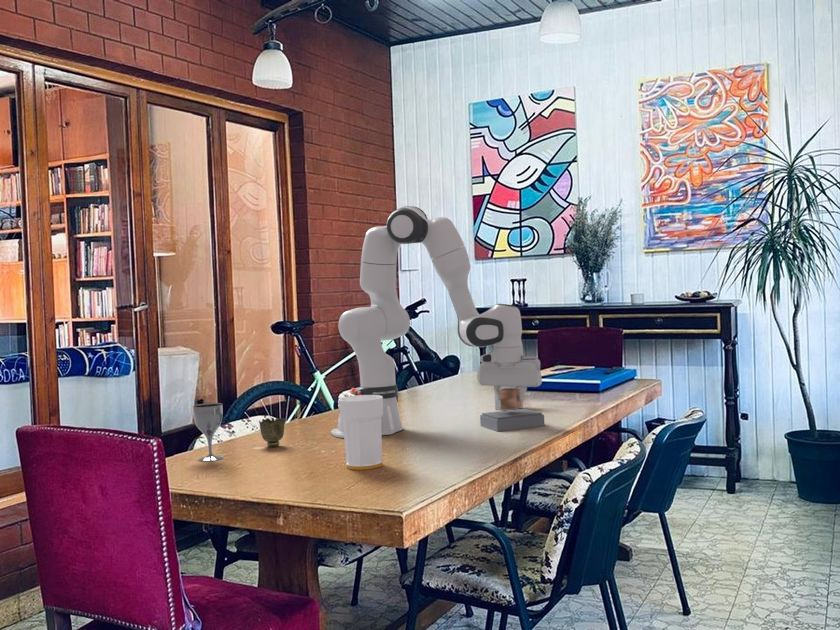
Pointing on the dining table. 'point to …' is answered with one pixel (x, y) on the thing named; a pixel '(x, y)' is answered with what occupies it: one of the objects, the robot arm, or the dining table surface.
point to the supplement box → (498, 402)
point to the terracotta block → (510, 398)
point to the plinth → (512, 419)
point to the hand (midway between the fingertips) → (510, 400)
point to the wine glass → (208, 424)
